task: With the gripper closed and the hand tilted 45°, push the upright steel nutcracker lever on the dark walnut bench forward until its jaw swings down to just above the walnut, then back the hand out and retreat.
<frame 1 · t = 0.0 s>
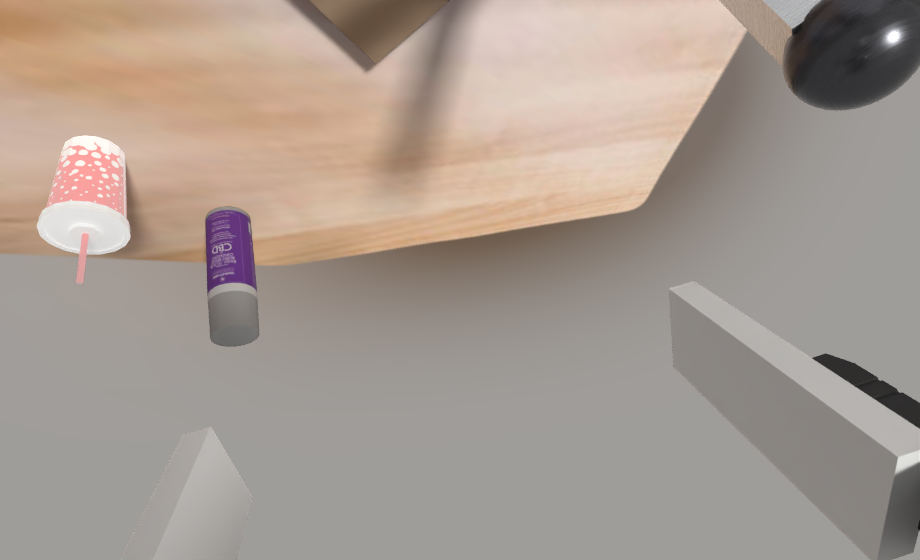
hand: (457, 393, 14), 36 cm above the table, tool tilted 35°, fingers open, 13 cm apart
beverage cup: (95, 153, 45), on the table
container: (228, 218, 56), on the table
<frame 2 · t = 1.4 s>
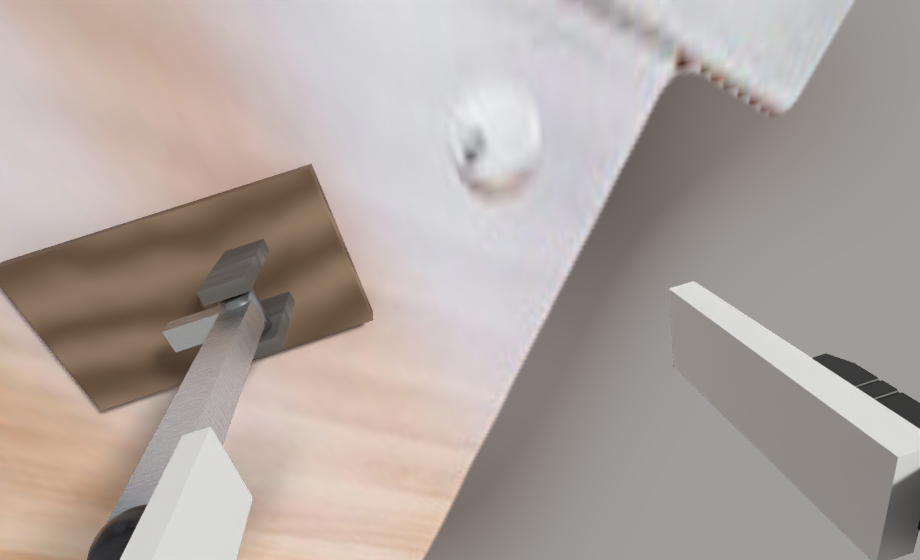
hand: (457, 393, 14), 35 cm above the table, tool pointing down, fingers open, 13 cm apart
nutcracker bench: (204, 288, 47), on the table
nutcracker lever: (174, 408, 30), point 20 cm above the table, hinge at 0.0°
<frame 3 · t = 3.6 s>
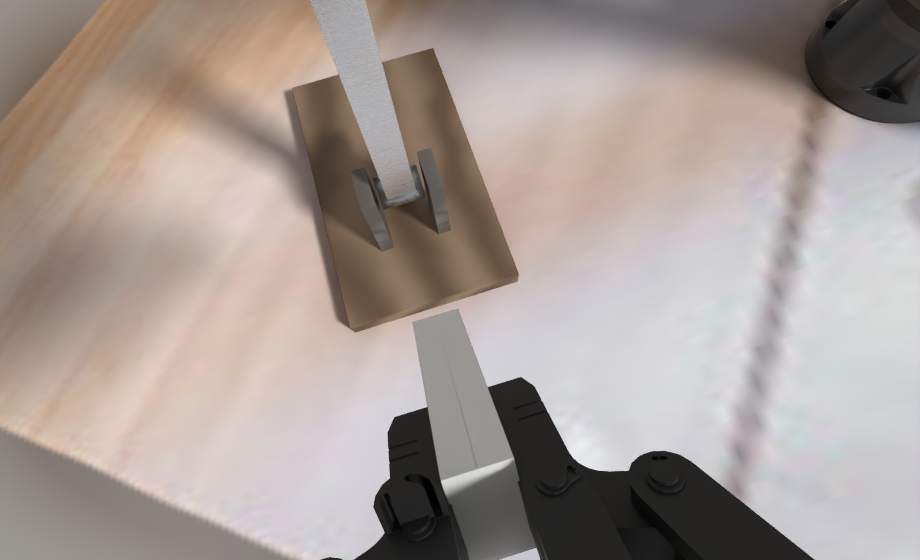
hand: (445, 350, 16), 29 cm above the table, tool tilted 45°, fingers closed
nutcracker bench: (399, 183, 51), on the table
nutcracker lever: (362, 73, 31), point 20 cm above the table, hinge at 0.0°
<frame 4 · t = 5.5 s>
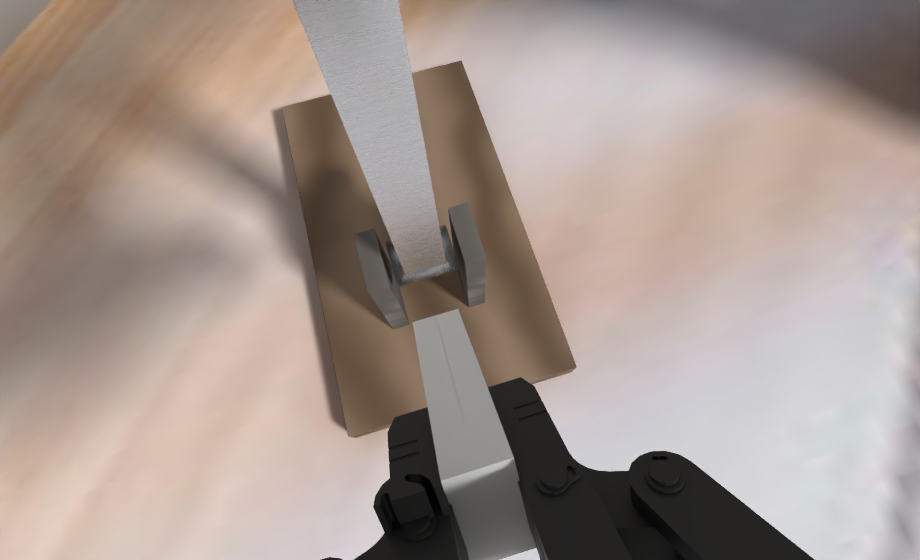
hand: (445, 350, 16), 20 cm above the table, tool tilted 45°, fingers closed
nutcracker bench: (415, 233, 40), on the table
nutcracker lever: (378, 106, 20), point 20 cm above the table, hinge at 0.0°
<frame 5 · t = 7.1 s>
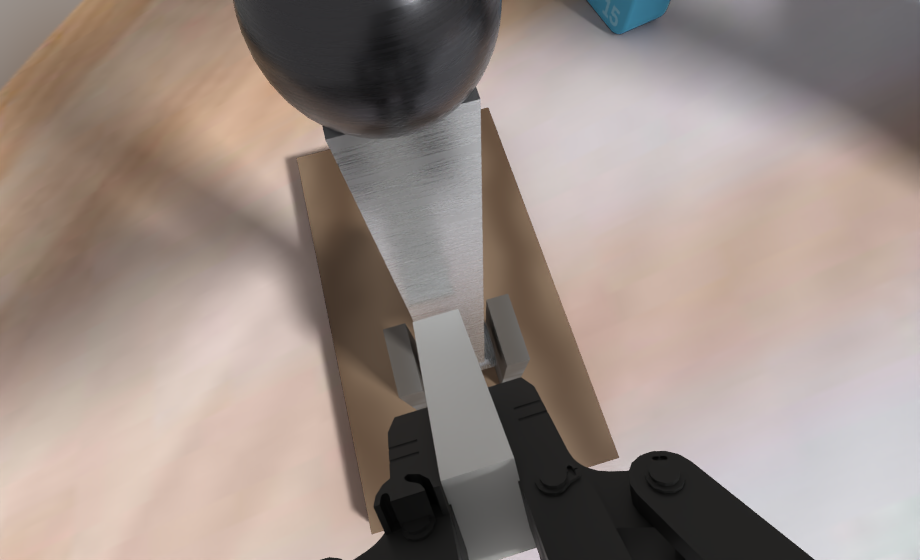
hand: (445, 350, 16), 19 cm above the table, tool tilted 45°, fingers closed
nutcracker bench: (440, 298, 37), on the table
nutcracker lever: (423, 223, 17), point 20 cm above the table, hinge at 1.8°, touching gripper
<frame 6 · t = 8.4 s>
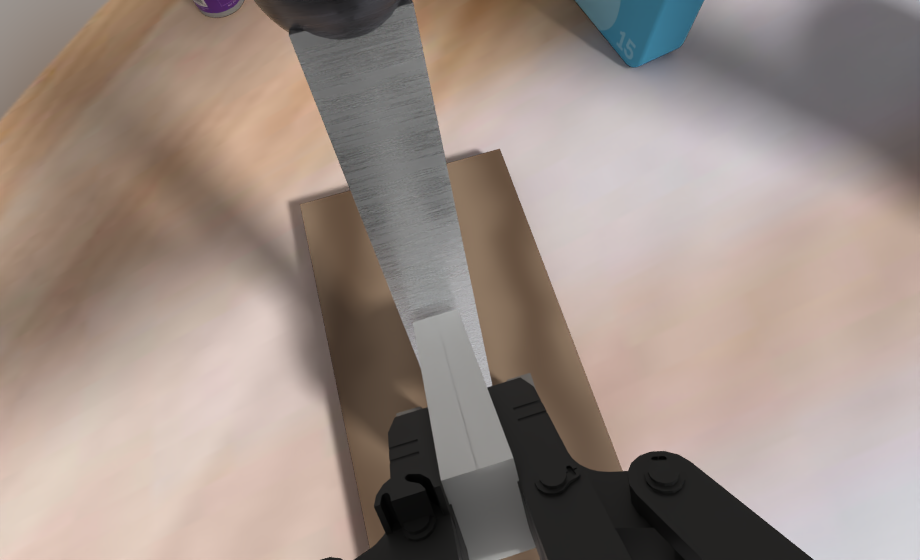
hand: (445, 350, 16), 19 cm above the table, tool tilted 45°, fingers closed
container: (222, 1, 48), on the table
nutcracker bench: (452, 353, 35), on the table
data package: (618, 22, 45), on the table
nutcracker lever: (422, 253, 18), point 18 cm above the table, hinge at 23.5°, touching gripper
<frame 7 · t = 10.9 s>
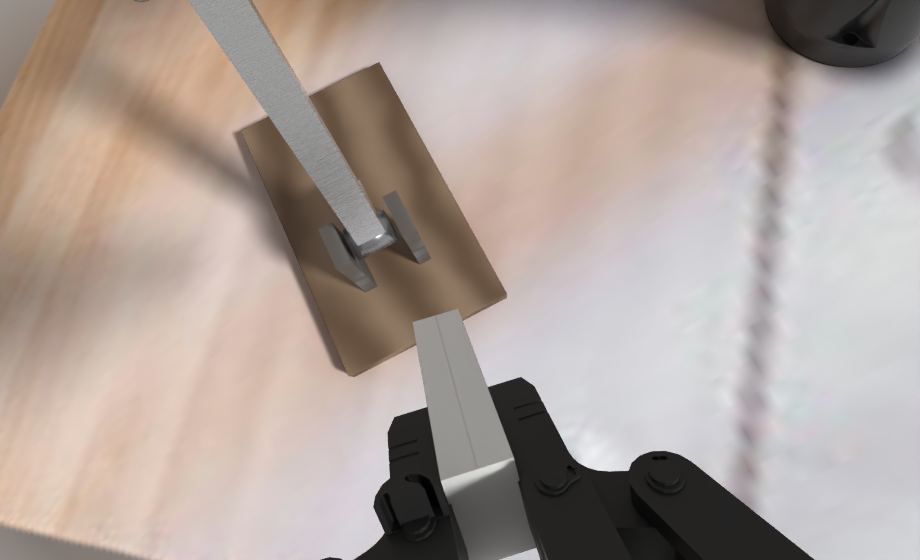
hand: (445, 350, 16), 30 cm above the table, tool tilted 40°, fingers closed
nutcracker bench: (370, 214, 49), on the table
nutcracker lever: (297, 111, 32), point 18 cm above the table, hinge at 23.6°
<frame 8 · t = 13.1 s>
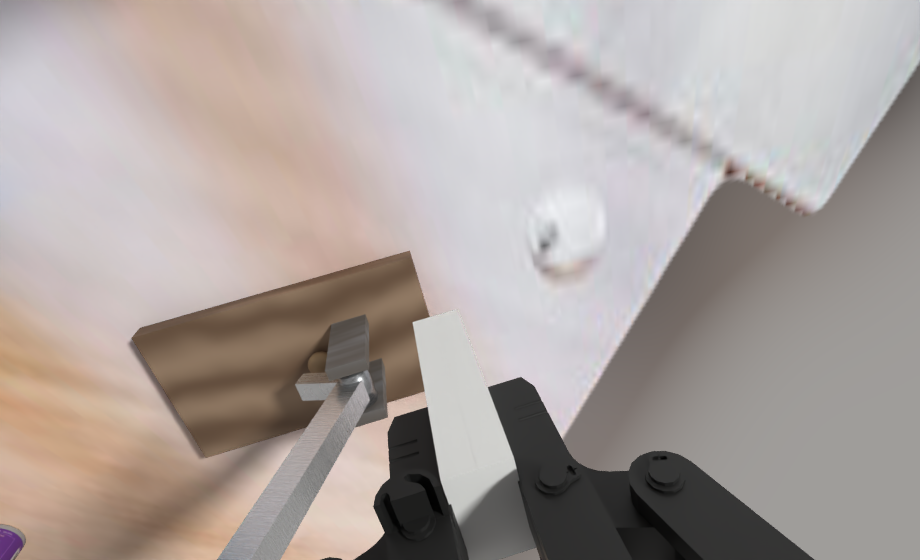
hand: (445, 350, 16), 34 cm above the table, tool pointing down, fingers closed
container: (3, 537, 56), on the table
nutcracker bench: (305, 352, 53), on the table
nutcracker lever: (275, 478, 37), point 18 cm above the table, hinge at 23.6°
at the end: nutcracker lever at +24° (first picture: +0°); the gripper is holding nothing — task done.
